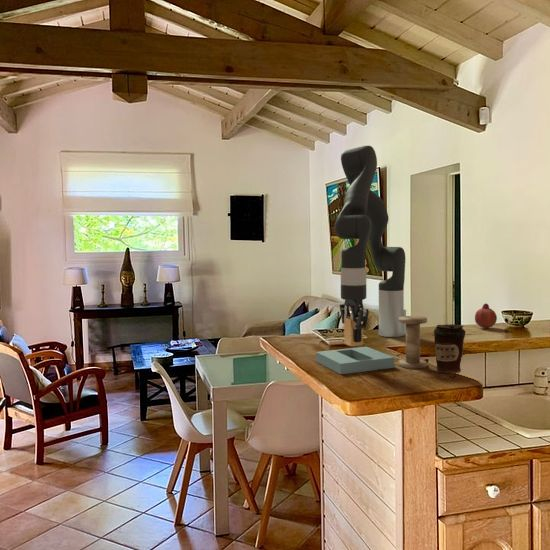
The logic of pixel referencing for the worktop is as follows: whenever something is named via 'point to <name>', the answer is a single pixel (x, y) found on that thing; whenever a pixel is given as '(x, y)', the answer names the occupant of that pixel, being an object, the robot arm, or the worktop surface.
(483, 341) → the worktop surface
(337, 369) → the board
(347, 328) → the orange rectangular block
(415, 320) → the bobbin
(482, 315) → the fruit
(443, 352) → the coffee cup
